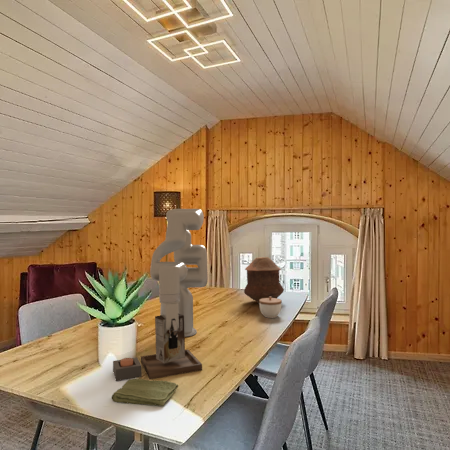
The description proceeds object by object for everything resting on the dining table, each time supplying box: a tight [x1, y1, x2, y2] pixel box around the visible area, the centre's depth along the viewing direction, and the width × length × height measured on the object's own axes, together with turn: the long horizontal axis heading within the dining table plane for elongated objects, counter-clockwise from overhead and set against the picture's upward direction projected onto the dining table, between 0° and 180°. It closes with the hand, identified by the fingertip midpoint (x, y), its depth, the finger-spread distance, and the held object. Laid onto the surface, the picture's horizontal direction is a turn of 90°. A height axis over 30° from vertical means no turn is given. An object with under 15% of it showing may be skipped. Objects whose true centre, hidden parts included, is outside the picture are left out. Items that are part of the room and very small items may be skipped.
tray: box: [140, 349, 203, 380], centre depth 139 cm, size 17×19×2 cm
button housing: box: [112, 356, 143, 382], centre depth 132 cm, size 9×9×4 cm
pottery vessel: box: [243, 256, 285, 305], centre depth 242 cm, size 26×26×30 cm
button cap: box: [120, 357, 134, 367], centre depth 132 cm, size 4×4×3 cm
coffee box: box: [154, 313, 186, 363], centre depth 139 cm, size 9×6×16 cm
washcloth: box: [110, 378, 179, 407], centre depth 117 cm, size 13×18×3 cm
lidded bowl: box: [258, 296, 282, 319], centre depth 210 cm, size 13×13×11 cm
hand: (170, 344), depth 139 cm, fingers closed on coffee box, 7 cm apart
